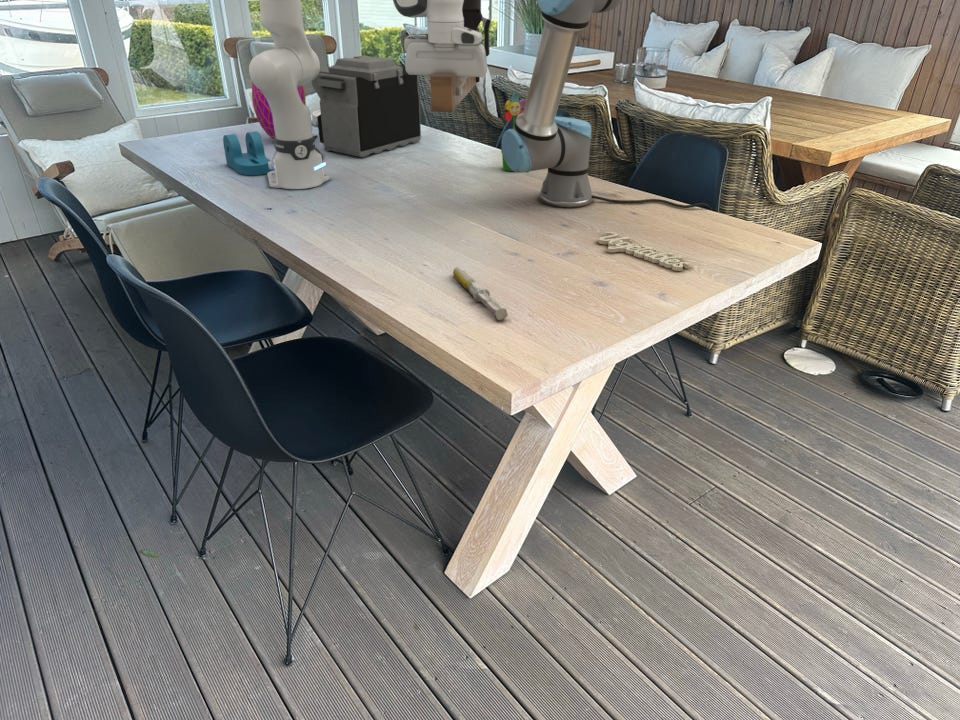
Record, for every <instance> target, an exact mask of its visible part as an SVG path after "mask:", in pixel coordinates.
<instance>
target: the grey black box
mask: <svg viewBox="0 0 960 720" xmlns="http://www.w3.org/2000/svg"><path fill="white" fill-rule="evenodd" d="M311 87H313V90H314V91H315V93H316V94H317V96H318V98H319V110H320V111H321V115H319V116H318V117H317V120H318V126H317V128H318V138H319V143H320V144H323V146H324V149H325V150H327V151H330V152H335V153H340V154H344V155H348V156H353V157H357V158H362V159H363V158H366V157H367V158H368V157H369V155H371V154H375V155H377V154H381V153H382V152H383V151H391V150H395V149H396V148H397V147H405V146H407V145H408V144H416V143H418V142H419V141H421V137H422V128H421V97H420V92H419V91H420V89H419V75H409V74H408V73H407V72H406V69H405V65H400V64H396V62H395V60H394V59H393V58H385V57H377V56H367V55H356V56H353V57H350V58H349V57H343V58H342V57H341V58H337V59H336V60H335V63H334V64H333V65H330V66H329V67H328V72H327V71H321V70H320V71H319V74H318V76H317V77H316V78H315V79H314V80H312V81H311Z"/></svg>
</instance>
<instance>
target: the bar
mask: <svg viewBox="0 0 960 720" xmlns="http://www.w3.org/2000/svg"><path fill="white" fill-rule="evenodd" d="M430 82H431V94H430V107H431V108H430V112H433V113H453V112H454V110H456V108H457V107H458V106H459V105H460V103H461V102H462V101H463V100H464V99H465V98H466V96H468V94H469V93H470V92H471V90H472V89H473V88H475V86H476V85H477V84H478V82H476V77H467V81H466V82H465V84H464V86H463V88H462V96H459V95H456V88H457V87H460V85H461V83H462V81H460V76H455V73H434V74H432V75H431V76H430Z"/></svg>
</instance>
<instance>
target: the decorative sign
mask: <svg viewBox="0 0 960 720" xmlns="http://www.w3.org/2000/svg"><path fill="white" fill-rule="evenodd" d="M598 244H601V245H607V253H611V254H612V253H613V254H614V253H625V254H627V255H633V256H634V257H636V258H638V259H644V260H645V261H648V262H651V263H653V264H658V265H659V266H662V267H665V268H667V269H671V270H673V271H676V272H681V271H683V268H684V269H689V266H690V263H689V262H688V261H683V258H684V257H683V256H682V255H674V254H673V252H658V251H657V249H656V248H654V247H653V246H646V245H644V244H642V245H641V246H640V245H636V244H634V243H631V237H629V236H622V237H619V233H618V232H617V233H616V232H614V231H613V232H612V231H605V235H604V236H600V237H599V238H598Z"/></svg>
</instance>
